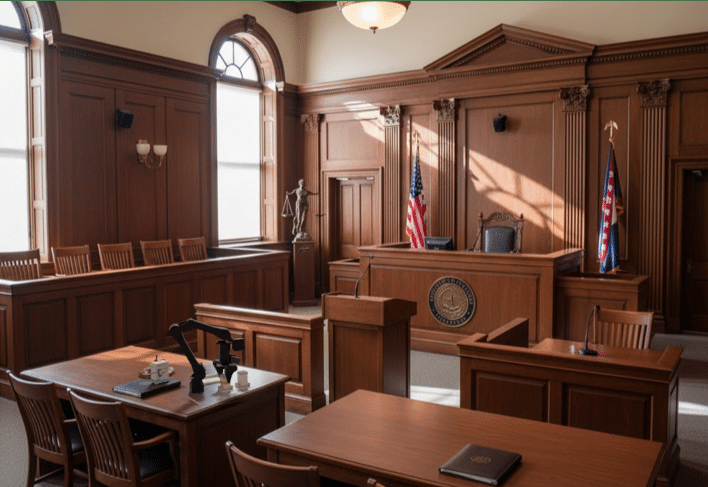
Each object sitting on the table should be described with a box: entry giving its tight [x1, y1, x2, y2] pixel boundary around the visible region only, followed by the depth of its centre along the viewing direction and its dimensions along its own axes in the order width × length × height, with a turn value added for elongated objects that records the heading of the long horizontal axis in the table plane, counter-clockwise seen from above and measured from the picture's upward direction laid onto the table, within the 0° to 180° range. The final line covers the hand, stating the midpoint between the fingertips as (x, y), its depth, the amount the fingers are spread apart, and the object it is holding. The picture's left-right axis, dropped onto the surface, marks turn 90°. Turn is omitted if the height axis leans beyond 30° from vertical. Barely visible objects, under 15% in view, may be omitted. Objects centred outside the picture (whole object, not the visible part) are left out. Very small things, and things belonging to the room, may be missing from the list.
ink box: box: [150, 359, 170, 382], centre depth 366 cm, size 9×5×12 cm, turn 143°
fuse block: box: [215, 381, 253, 394], centre depth 352 cm, size 18×9×3 cm, turn 126°
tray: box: [202, 372, 220, 386], centre depth 368 cm, size 15×15×2 cm
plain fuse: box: [236, 370, 249, 388], centre depth 355 cm, size 4×4×8 cm
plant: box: [138, 353, 176, 379], centre depth 386 cm, size 20×20×11 cm
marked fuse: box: [219, 373, 232, 391], centre depth 349 cm, size 4×4×8 cm
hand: (225, 381), depth 349 cm, fingers open, 9 cm apart
